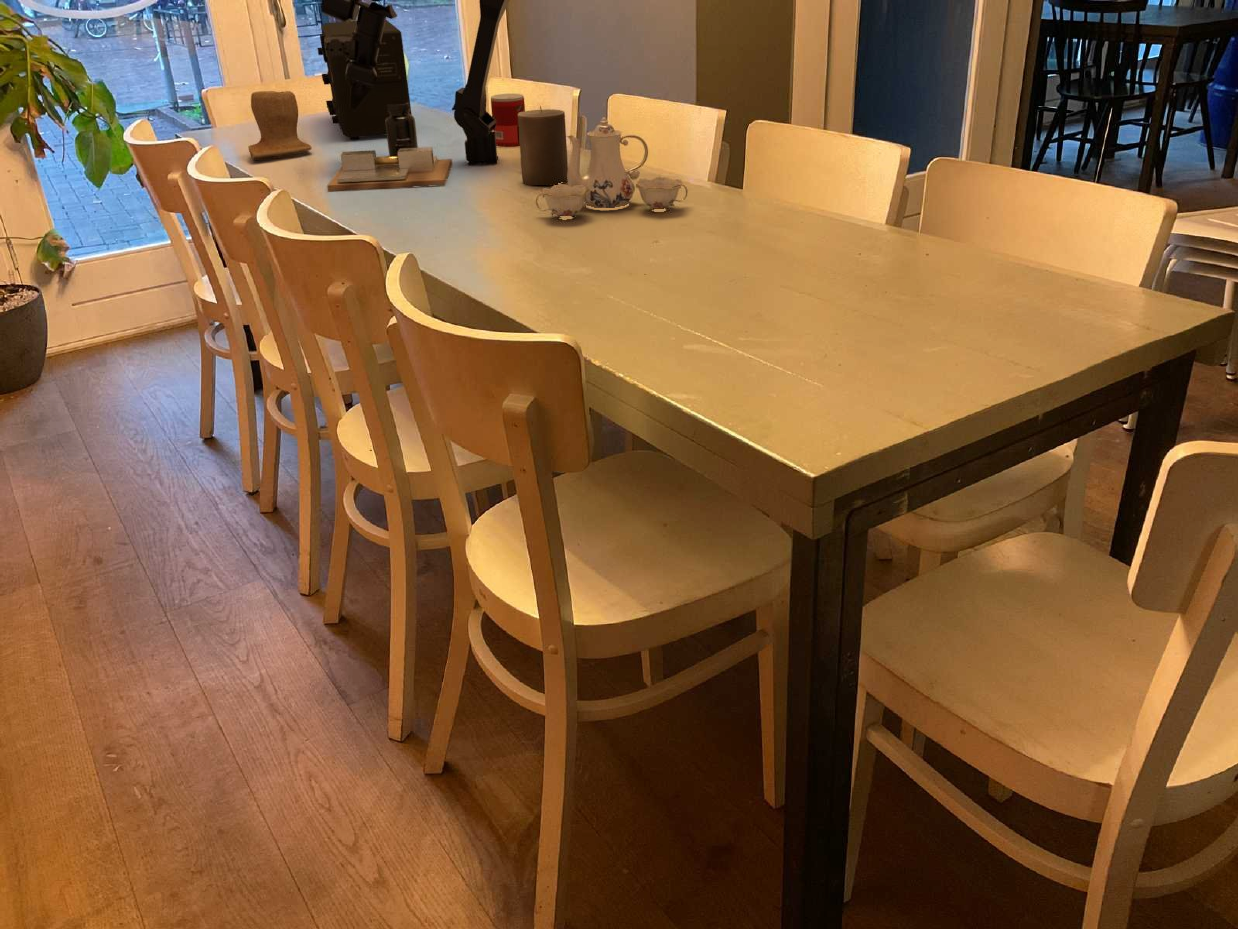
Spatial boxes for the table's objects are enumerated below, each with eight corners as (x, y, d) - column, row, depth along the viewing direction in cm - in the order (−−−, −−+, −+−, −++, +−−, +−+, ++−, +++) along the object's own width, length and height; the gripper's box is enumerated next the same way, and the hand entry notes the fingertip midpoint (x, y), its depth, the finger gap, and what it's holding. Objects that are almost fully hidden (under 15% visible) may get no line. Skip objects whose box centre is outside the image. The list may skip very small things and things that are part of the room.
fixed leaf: (437, 160, 227) (435, 140, 225) (433, 171, 218) (430, 150, 216) (374, 163, 227) (371, 143, 225) (367, 174, 217) (364, 153, 215)
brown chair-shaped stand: (300, 147, 252) (289, 83, 245) (317, 154, 243) (306, 88, 236) (239, 156, 245) (225, 90, 237) (254, 164, 236) (241, 96, 229)
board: (452, 164, 229) (451, 158, 228) (444, 185, 212) (443, 179, 211) (344, 169, 228) (343, 164, 227) (328, 191, 211) (327, 185, 210)
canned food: (525, 146, 244) (522, 98, 239) (492, 147, 244) (488, 99, 239) (528, 139, 251) (525, 92, 246) (496, 140, 251) (492, 93, 246)
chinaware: (546, 237, 182) (541, 144, 173) (527, 205, 195) (522, 117, 186) (694, 221, 188) (697, 130, 179) (666, 191, 201) (668, 105, 192)
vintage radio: (328, 118, 286) (312, 22, 274) (398, 112, 291) (385, 17, 279) (336, 143, 255) (319, 35, 243) (414, 136, 260) (401, 30, 248)
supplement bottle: (403, 161, 234) (396, 106, 228) (383, 157, 238) (375, 104, 232) (425, 155, 239) (418, 101, 233) (405, 152, 242) (398, 99, 237)
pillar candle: (562, 186, 207) (558, 109, 200) (516, 185, 209) (510, 109, 202) (573, 176, 216) (570, 102, 209) (529, 175, 217) (524, 101, 210)
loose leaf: (411, 167, 221) (409, 148, 219) (405, 179, 211) (402, 159, 209) (346, 170, 220) (343, 151, 218) (337, 182, 211) (334, 162, 209)
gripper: (331, 9, 224) (317, 79, 231) (329, 29, 209) (314, 103, 216) (382, 26, 228) (366, 94, 235) (384, 47, 213) (367, 119, 221)
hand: (352, 102), depth 227 cm, fingers open, 9 cm apart
